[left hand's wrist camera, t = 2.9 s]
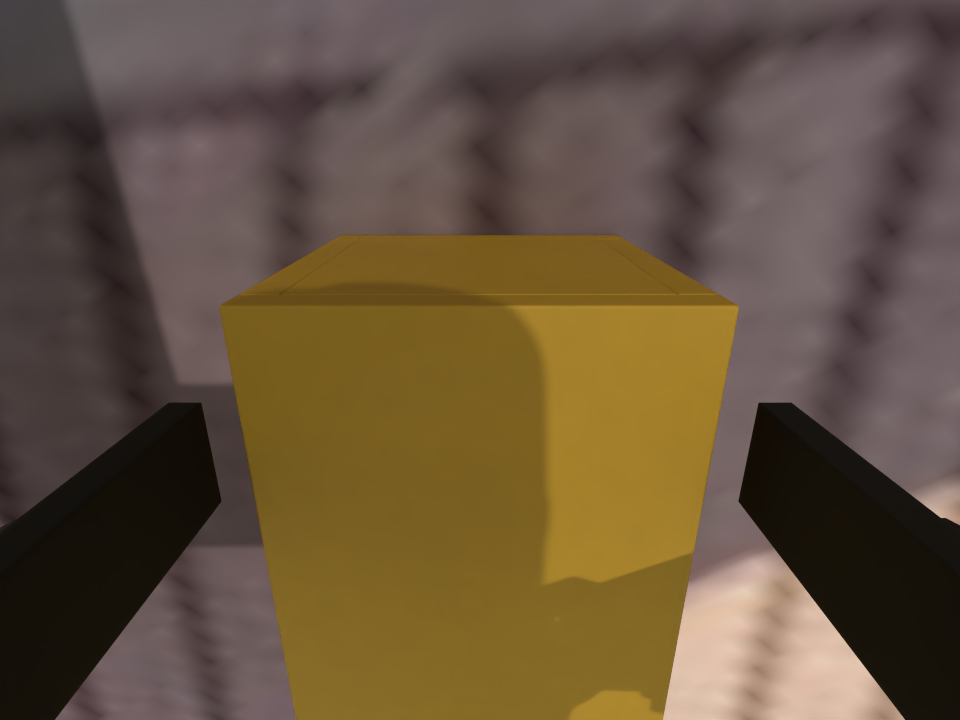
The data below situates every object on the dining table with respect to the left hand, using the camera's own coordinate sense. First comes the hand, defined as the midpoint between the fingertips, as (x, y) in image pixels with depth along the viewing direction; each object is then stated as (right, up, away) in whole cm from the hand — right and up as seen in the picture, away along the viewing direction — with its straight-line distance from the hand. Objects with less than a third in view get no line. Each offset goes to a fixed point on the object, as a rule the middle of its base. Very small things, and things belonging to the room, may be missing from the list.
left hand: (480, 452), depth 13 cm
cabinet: (0, -1, +9) cm, 9 cm away
